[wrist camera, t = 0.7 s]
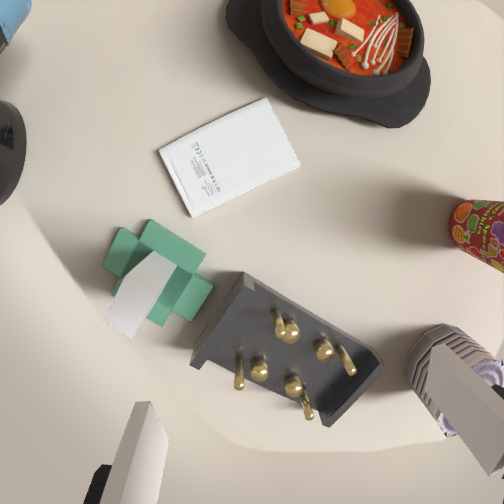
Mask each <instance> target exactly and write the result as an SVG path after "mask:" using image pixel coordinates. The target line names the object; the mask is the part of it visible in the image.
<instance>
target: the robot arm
mask: <svg viewBox="0 0 504 504" xmlns="http://www.w3.org/2000/svg"><path fill="white" fill-rule="evenodd" d="M30 10H31V0H0V54H1V53H2V52H3V50H4V49H5V47H6V46H8V45H9V44H10V42H11V38H12V37H13V35H14V34H15V32H16V31H17V30H18V28H19V27H20V25H21V24H22V23H23V21H24V20H25V19H26V18H27V16H28V14H29V12H30ZM25 155H26V131H25V125H24V122H23V119H22V116H21V114H20V112H19V111H18V109H17V108H16V107H15V106H14V105H12V104H11V103H9V102H5V101H1V100H0V205H1V204H3V203H4V202H5V201H6V200H7V199H8V198H9V197H10V195H11V194H12V193H13V191H14V189H15V187H16V185H17V183H18V181H19V179H20V176H21V173H22V170H23V166H24V161H25ZM425 392H426V393H427V394H428V396H429V397H430V398H431V399H432V401H433V402H434V403H435V405H436V406H437V407H438V408H439V410H440V411H441V412H442V414H443V415H444V416H445V418H446V419H447V420H448V421H449V423H450V424H451V425H452V427H453V428H454V429H455V431H456V432H457V433H458V435H459V436H460V437H461V439H462V440H463V441H464V443H465V444H466V446H467V447H468V448H469V450H470V451H471V452H472V454H473V455H474V456H475V458H476V459H477V460H478V462H479V463H480V465H481V466H482V468H483V469H484V470H485V472H486V473H487V475H488V476H489V477H490V476H491V475H493V474H494V473H496V472H497V471H499V470H500V469H502V468H503V466H504V388H503V387H501V386H499V385H497V384H495V385H493V386H491V387H490V386H489V385H488V384H487V383H486V382H485V381H484V380H483V379H482V378H481V377H480V376H479V375H478V374H477V373H476V372H475V371H473V370H472V369H471V368H470V367H469V366H468V365H467V364H466V363H465V362H464V361H463V360H462V359H461V358H460V357H459V356H458V355H456V354H455V353H454V352H453V351H452V350H451V349H450V348H449V347H448V346H447V345H446V344H445V343H443V344H440V345H437V346H434V347H432V348H431V355H430V362H429V368H428V374H427V380H426V385H425ZM168 444H169V439H168V437H167V435H166V433H165V431H164V429H163V427H162V425H161V423H160V420H159V418H158V416H157V414H156V412H155V410H154V408H153V405H152V403H151V401H149V402H135V405H134V408H133V410H132V413H131V415H130V418H129V421H128V423H127V426H126V429H125V431H124V434H123V437H122V440H121V442H120V445H119V448H118V451H117V454H116V457H115V459H114V462H113V465H101V467H99V468H98V470H97V471H96V472H95V473H94V476H93V479H92V481H91V484H90V486H89V489H88V490H89V491H88V492H87V495H86V497H85V500H84V503H83V504H157V501H158V496H159V490H160V485H161V480H162V474H163V469H164V464H165V459H166V454H167V449H168ZM502 479H504V475H503V477H502ZM503 504H504V500H503Z"/></svg>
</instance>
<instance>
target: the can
mask: <svg viewBox="0 0 504 504" xmlns="http://www.w3.org/2000/svg"><path fill="white" fill-rule="evenodd" d="M443 343H445V344H446V345H447V346H448V347H449V348H450V349H451V350H452V351H453V352H454V353H455V354H456V355H458V356H459V357H460V358H461V359H462V360H463V361H464V362H465V363H466V364H467V365H468V366H469V367H470V368H471V369H472V370H473V371H475V372H476V373H477V374H478V375H479V376H480V377H481V378H482V379H483V380H484V381H485V382H486V383H487V384H488V385H489V386H490V387H491V386H493V385H495V384H497V385H499V386H501V387H503V388H504V365H503V362H502V359H497V358H495V357H494V356H493V355H492V354H490V353H489V352H488V351H487V350H486V349H484V348H483V347H482V346H481V345H479V344H478V343H477V342H476V341H474V340H473V339H472V338H471V337H469V336H468V335H467V334H466V333H464V332H463V331H462V330H461V329H459V328H458V327H455V326H451V325H447V324H444V323H443V324H441V325H439V326H437V327H435V328H433V329H431V330H429V331H427V332H425V333H423V335H422V336H421V337H420V338H419V339H418V341H417V342H416V343H415V344H414V346H413V347H412V348H411V349H410V350H409V351H408V354H407V358H406V362H405V366H404V369H403V374H404V376H405V377H406V379H407V381H408V383H409V385H410V386H411V388H412V389H413V390H414V392H415V393H416V394H417V396H418V397H419V398H420V400H421V401H422V402H423V404H424V405H425V407H426V408H427V409H428V411H429V412H430V413H431V415H432V416H433V418H434V419H435V420H436V422H437V424H438V425H439V427H440V428H441V430H442V431H443V433H444V434H445V436H446V437H450V436H454V435H458V433H457V432H456V431H455V429H454V428H453V427H452V425H451V424H450V423H449V421H448V420H447V419H446V418H445V416H444V415H443V414H442V412H441V411H440V410H439V408H438V407H437V406H436V405H435V403H434V402H433V401H432V399H431V398H430V397H429V396H428V394H427V393H426V392H425V385H426V380H427V374H428V368H429V362H430V355H431V348H432V347H434V346H437V345H440V344H443Z"/></svg>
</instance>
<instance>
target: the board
mask: <svg viewBox="0 0 504 504" xmlns="http://www.w3.org/2000/svg"><path fill="white" fill-rule="evenodd" d="M205 255H206V253H204V252H203V251H201V250H200V249H198V248H196V247H195V246H193V245H192V244H190V243H188V242H187V241H185V240H184V239H182V238H180V237H179V236H177V235H176V234H174V233H172V232H171V231H169V230H168V229H166V228H165V227H163V226H161V225H160V224H158V223H157V222H155V221H154V220H150V221H149V222H148V224H147V226H146V228H145V230H144V232H143V233H142V235H141V237H138V236H136V235H135V234H133V233H132V232H130V231H129V230H127V229H126V228H124V227H123V228H120V230H119V232H118V234H117V236H116V238H115V240H114V242H113V244H112V246H111V248H110V250H109V252H108V254H107V256H106V258H105V261H104V263H103V265H102V266H103V267H104V268H106V269H107V270H109V271H110V272H112V273H113V274H115V275H116V276H118V277H119V280H118V282H117V284H116V286H115V288H114V290H113V292H112V294H111V295H112V296H114V297H115V298H114V300H113V302H112V304H111V306H110V308H109V310H108V312H107V315H106V317H105V319H104V322H105V323H107V324H108V325H110V326H111V327H113V328H115V329H116V330H118V331H119V332H121V333H122V334H124V335H126V336H127V337H129V338H130V339H133V337H134V336H135V334H136V333H137V331H138V329H139V328H140V326H141V325H142V323H143V322H144V320H145V318H146V317H147V318H148V319H150V320H152V321H153V322H155V323H156V324H158V325H160V326H161V327H162V326H163V324H164V323H165V321H166V319H167V318H168V316H169V314H170V313H171V311H173V312H175V313H176V314H178V315H180V316H181V317H183V318H185V319H187V320H188V321H190V322H191V321H192V319H193V318H194V316H195V314H196V313H197V311H198V310H199V308H200V307H201V305H202V304H203V302H204V301H205V299H206V297H207V296H208V294H209V293H210V291H211V290H212V288H213V286H214V284H213V283H212V282H210V281H208V280H207V279H205V278H203V277H202V276H200V275H198V274H197V273H195V271H196V270H197V268H198V267H199V265H200V263H201V262H202V260H203V259H204V257H205Z"/></svg>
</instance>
